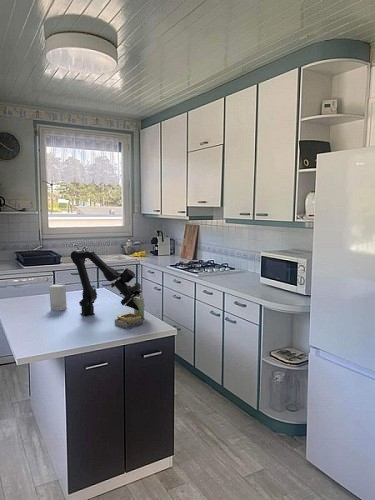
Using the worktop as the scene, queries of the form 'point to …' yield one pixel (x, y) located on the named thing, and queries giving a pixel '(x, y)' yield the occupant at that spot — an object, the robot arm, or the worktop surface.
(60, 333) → the worktop surface
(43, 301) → the worktop surface
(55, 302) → the skincare box
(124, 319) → the grey and tan tray
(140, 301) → the green and white bottle
